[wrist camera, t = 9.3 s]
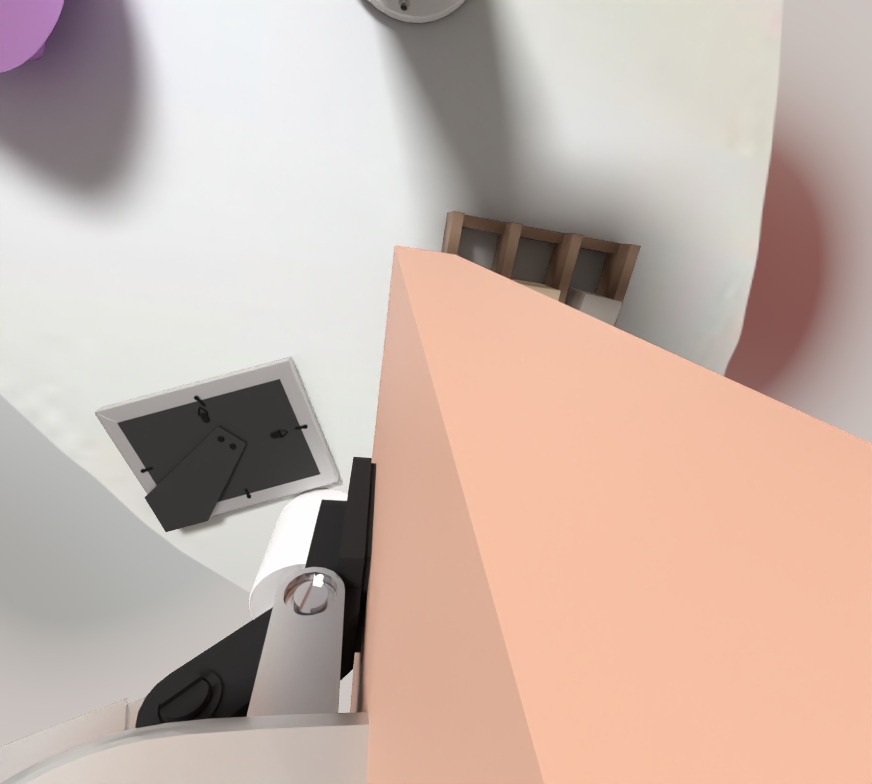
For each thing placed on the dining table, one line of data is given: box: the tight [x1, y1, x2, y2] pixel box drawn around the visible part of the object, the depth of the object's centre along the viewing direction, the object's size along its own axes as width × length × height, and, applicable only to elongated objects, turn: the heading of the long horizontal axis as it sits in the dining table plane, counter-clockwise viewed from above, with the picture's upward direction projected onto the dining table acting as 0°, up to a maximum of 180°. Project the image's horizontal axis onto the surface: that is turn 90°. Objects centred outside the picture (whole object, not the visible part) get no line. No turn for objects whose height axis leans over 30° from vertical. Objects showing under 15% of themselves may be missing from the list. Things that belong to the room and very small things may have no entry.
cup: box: [249, 489, 348, 620], centre depth 47 cm, size 12×12×12 cm
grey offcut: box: [565, 287, 623, 326], centre depth 43 cm, size 12×4×6 cm, turn 166°
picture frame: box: [94, 357, 339, 532], centre depth 46 cm, size 16×3×21 cm
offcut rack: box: [441, 211, 641, 327], centre depth 43 cm, size 22×18×4 cm
